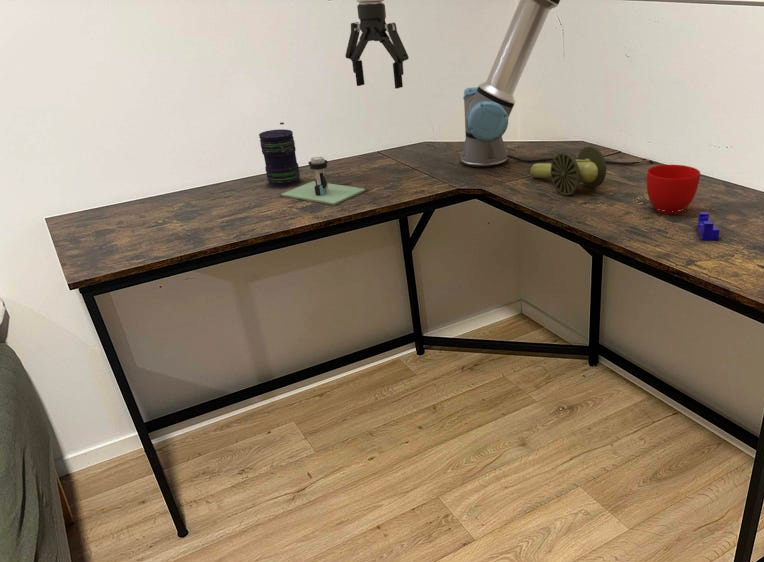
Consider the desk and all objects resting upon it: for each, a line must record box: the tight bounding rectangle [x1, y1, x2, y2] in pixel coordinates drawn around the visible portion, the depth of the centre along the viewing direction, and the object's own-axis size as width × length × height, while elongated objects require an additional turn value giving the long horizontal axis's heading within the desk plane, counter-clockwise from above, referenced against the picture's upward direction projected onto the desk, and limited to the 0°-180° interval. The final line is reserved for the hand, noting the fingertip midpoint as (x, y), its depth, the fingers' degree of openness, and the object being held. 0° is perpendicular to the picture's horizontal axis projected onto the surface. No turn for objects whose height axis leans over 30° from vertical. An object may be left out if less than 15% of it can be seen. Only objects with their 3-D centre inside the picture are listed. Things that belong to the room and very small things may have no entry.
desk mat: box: [280, 180, 366, 206], centre depth 196 cm, size 20×14×1 cm
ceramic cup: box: [646, 164, 701, 215], centre depth 173 cm, size 13×17×10 cm
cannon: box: [530, 145, 607, 196], centre depth 192 cm, size 25×12×11 cm, turn 37°
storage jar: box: [258, 122, 302, 189], centre depth 202 cm, size 10×10×18 cm
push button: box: [308, 156, 329, 196], centre depth 192 cm, size 7×5×10 cm
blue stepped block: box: [696, 211, 720, 241], centre depth 158 cm, size 8×4×4 cm, turn 173°
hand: (379, 86), depth 193 cm, fingers open, 13 cm apart
